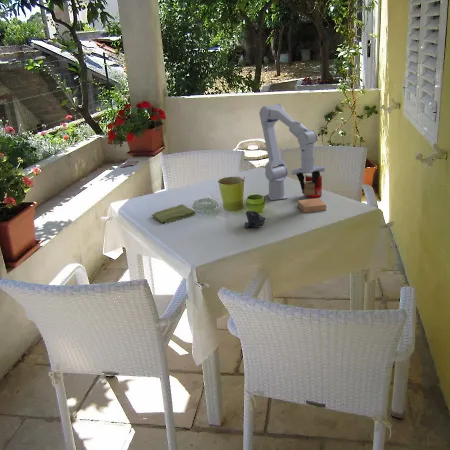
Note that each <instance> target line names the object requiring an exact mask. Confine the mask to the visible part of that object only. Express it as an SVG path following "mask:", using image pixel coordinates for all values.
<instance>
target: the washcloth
mask: <svg viewBox="0 0 450 450" xmlns="http://www.w3.org/2000/svg"><path fill="white" fill-rule="evenodd" d="M193 215H194V216H195V215H196V210H194V209H191V208H190V207H188V206H186V205H185V204H178V205H177V206H172V207H169V208H166V209H163V210H160V211H155V212H154V213H153V214H151V217H152V216H153V217H154V218H153V217H152V218H153V219H156V221H159V222H161V223H164V222H165V223H168V224H170V223H169V222H171V223H174V222H177V221H180V220H184V219H187V218H190V216H191V217H193ZM183 218H184V219H183ZM176 220H177V221H176ZM173 221H174V222H173ZM165 223H164V224H165Z"/></svg>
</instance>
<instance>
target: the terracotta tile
mask: <svg viewBox="0 0 450 450" xmlns="http://www.w3.org/2000/svg"><path fill="white" fill-rule="evenodd" d="M297 206H298V207H299V208H300V209H301V211H302V212H303V213H304V214H305V213H311V212H312V213H314V212H321V211H326V210H327V204H326V203H325V202H324V201H323V200H322V199H321V197H319V198H308V199H300V200H297Z"/></svg>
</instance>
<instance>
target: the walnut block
mask: <svg viewBox="0 0 450 450" xmlns="http://www.w3.org/2000/svg"><path fill="white" fill-rule="evenodd" d="M301 193H302V194H303V196H306V195H315V183H314V182H312V181H306V180H305V181H304V190H302V189H301Z"/></svg>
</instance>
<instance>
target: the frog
mask: <svg viewBox="0 0 450 450" xmlns="http://www.w3.org/2000/svg"><path fill="white" fill-rule="evenodd" d="M245 215H246V219H247V221H245V222H244V228H246V229H248V228H250V227H252V228H259V227H262V226H263V225H264V224H265V223H266V217H264V216H262V215H261V214H259V212H258V211H255V210H254V211H252V210H247V211H246V212H245Z"/></svg>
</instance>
